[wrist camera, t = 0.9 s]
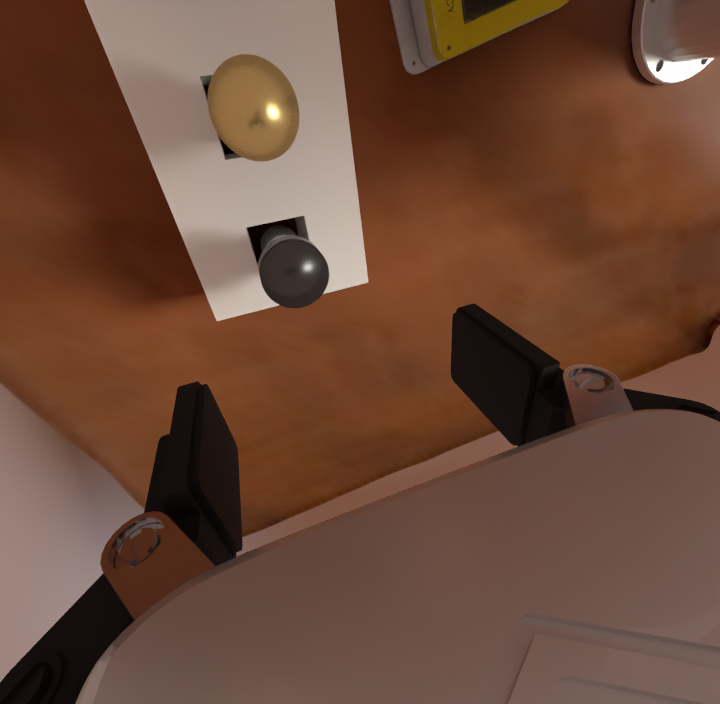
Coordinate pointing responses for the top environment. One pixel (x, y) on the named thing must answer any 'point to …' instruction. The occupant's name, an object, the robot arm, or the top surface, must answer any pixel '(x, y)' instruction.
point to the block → (230, 171)
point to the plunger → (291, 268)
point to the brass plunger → (253, 107)
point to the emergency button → (457, 26)
